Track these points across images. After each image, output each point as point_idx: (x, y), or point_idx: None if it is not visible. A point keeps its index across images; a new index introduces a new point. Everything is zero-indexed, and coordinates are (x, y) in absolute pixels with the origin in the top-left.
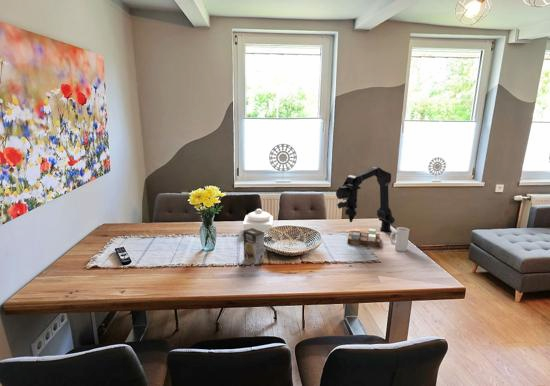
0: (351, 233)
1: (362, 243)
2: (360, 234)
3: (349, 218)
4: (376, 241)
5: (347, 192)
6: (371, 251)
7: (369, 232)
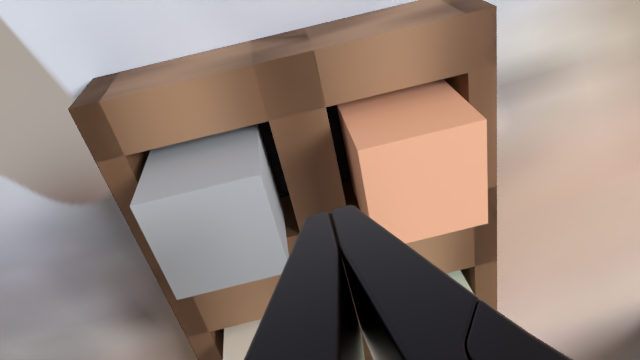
0: (381, 79)
1: None
2: None
3: (264, 325)
4: None
5: None
6: (86, 356)
7: None
